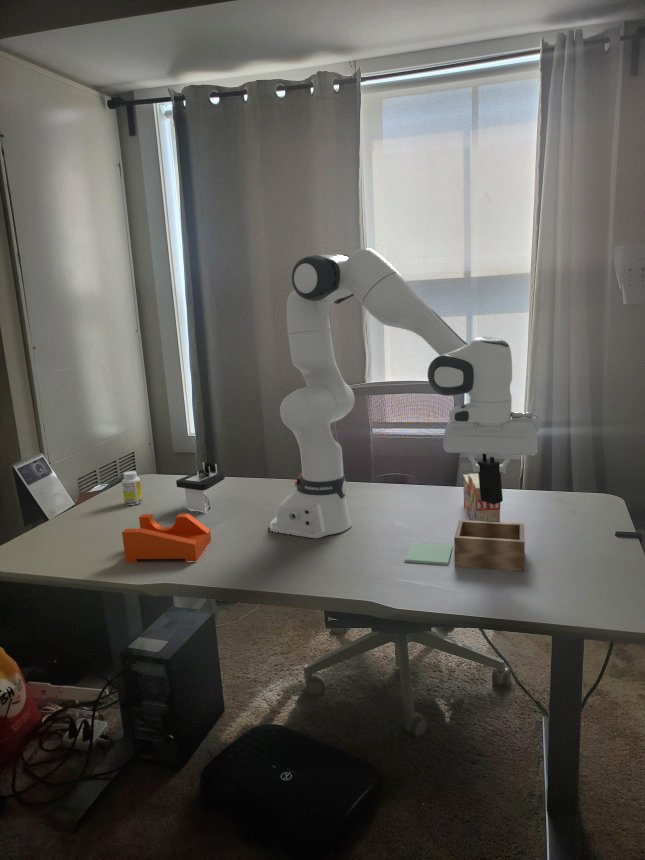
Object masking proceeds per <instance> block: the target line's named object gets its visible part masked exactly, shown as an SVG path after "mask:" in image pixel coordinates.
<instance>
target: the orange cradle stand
mask: <svg viewBox="0 0 645 860" xmlns="http://www.w3.org/2000/svg"><path fill="white" fill-rule="evenodd" d="M138 519H139V528H125V529H124V530H122V532H121V536H122V537H121V538H122V543H123V550H124V551H123V552H124V558H125V559H124V560H125V563H127V564H128V563H130V564H131V563H132V564H133V563H135V564H136V563H137V562H138V561H140V560H182V559H183V560H185V562H186V561H197V560H198V558H199V557H200V556H201V554H202V553H203V551H204V550H205V548H206V547H207V545H208V544H209V543H210V541H211V542H212V533H211V529H209V528H208V527H207V526H205V525H204V524H203V523H202V522H200V521H199V520H198V519H196V518H195V517H194V516H193V515H191V514H190V513H178V514H177V515H176V516H175V522H174V524H173V525H171V526H163V525H160V524H158V523H157V521H156V520H155V518H154V516H153V514H152V513H143V514H141V515H140V516H138ZM210 544H211V543H210ZM207 548H208V547H207ZM205 551H206V550H205ZM205 551H204V552H205ZM203 554H204V553H203ZM203 554H202V555H203ZM201 557H202V556H201ZM201 557H200V558H201ZM200 558H199V559H200ZM198 561H199V560H198ZM198 561H197V562H198Z"/></svg>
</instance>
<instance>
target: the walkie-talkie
mask: <svg viewBox="0 0 645 860" xmlns="http://www.w3.org/2000/svg"><path fill="white" fill-rule="evenodd" d="M481 455H482V459H481V460H478V461H477V463H478V464H479V465H480V473H478V472H477V474H479V485H480V497H481V501H484V502H487V503H490V504H497V503H499V502H500V503H502V502H503V500H504V498H503V488H502V487H503V485H502V476H501V475H502V474H500V469H499V466H500V464H501V462H500V461H498V460H495V457H493V456H490V457H489V458H487V454H481Z"/></svg>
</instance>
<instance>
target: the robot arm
mask: <svg viewBox="0 0 645 860" xmlns="http://www.w3.org/2000/svg"><path fill="white" fill-rule="evenodd" d="M291 284H292V287H293V290H292V291H291V293H289V295H288V297H287V301H286V327H287V336H288V337H287V338H288V343H289V350H290V352H289V353H290V358H291V363H292V365H293V367H295V368H296V369H297V370H298V371H299V372H300V373H301V374H302V377H303V379H304V383H305V387H301V388H297V389H295V390H294V391H292V392H291V393H289V394H288V395H287V396H285V397H284V398H283V400H282V401H281V404H280V406H279V415H280V418H281V421H282V423H283V424H284V426H286V428H288V429H289V430H291V432H292V433H293V434H294V437H295V439H296V441H297V444H298V447H299V453H300V462H301V464H300V465H301V473H300V474H299V475H298V477H297V478H296V479H295V481H294V487H296V489H295V490H294V491H293V492H292V493H290V494H288V496H286V497H285V498H284V499H283V500H282V501H281V502H280V504H279V506H278V508H277V512H276V513H277V514H276V515H277V516H275V517H274V518H272V520H271V521H270V523H269V528H270V529H269V530H270V532H272V531H273V532H272V533H278V532H279V534H284V533H285V534H286V535H290V534H291V535H292V536H297V537H304V538H311V539H320V538H323V537H325V536H329V535H335V534H339V533H340V534H341V533H343V532H346V531H347V530H348V529H350V528H351V527H352V524H353V523H352V520H351V518H350V514H349V510H348V505H347V500H346V494H347V493H346V492H347V481H346V474H344V463H343V461H344V459H343V448H342V446H341V444H340V443H339V442H338V441H336V440H335V438H334V436H333V432H332V429H331V424H332V423H335V422H338V421H340V420H342V419H343V418H344V417H346V416H347V415H348V414H349V413H350V412H351V411H352V410H353V409H354V406H355V400H356V398H355V397H356V396H355V394H354V390H352V387H351V386H350V385H349V384H347V383H346V382H345V380H344V379H343V376H342V375H341V372H340V369H339V367H338V364H337V361H336V356H335V351H334V345H333V344H334V343H333V337H332V336H333V335H332V329H331V322H330V307H331V306H332V305H333V303H334V304H337V305H338V304H340V303H342V302H344V301H345V300H348V299H349V298H351V297H353V296H355V298H357V300H358V301H359V302H360V303H361V305H362V306H363V307H364V308H365V309H366V311H367V312H368V313H369V314H370V315H371V316H372V317H373V318H374V319H376V320H377V321H378V322H380V323H381V324H382V325H385V326H388V327H391V328H392V327H393V328H398V329H403V330H405V331H406V330H407V331H409V332H412V333H414V334H416V335H418V336H419V337H420V338H422V339H423V340H424V341H425V342H426V343H427V344H428V345H429V346H430V347H431V348H432V349H433V350H434V351H435V352H436V353H437V355H438V356H437V357H435V358H434V359H433V360H432V361H431V362H430V364H429V365H428V368H427V380H428V383H429V385H430V387H431V389H432V390H433V391H434V392H435V393H437V394H438V395H441V396H444V397H445V396H446V397H453V396H457V395H462V394H467V395H469V403H465V404H462V405H458V406H454V407H453V408H452V409H450V410H449V414H448V418H449V420H448V422H447V424H446V427H445V428H444V429H445V430H444V434H443V441H442V442H443V444H442V445H443V446H442V449H443V450H444V452H446V453H450V454H451V453H452V454H453V453H454V454H467V455H468V456H467V457H468V458H467V459H468V460H469V462H470V463H471V464H472V466H473V467H472V470H473V471H472V472H473V473H477V474H478V473H480V465H479V464H478V462H477V461H476V459H475V457H476V454H478V455H479V454H481V455H482V454H486V455H503V459H504V461H503V462H502V463H500V466H499V469H500V474H501V475H502V474H503V475H505V474H506V467H507V465H508V464H509V462H510V461H511V460H512V458H511V457H512V456H535V455H536V454H537V453H538V452H539V451H538V434H537V433H538V432H539V431H540V428H541V419H540V417H539V416H537V415H536V414H534V413H533V412H516V411H515V412H514V411H513V412H512V402H513V401H512V394H511V384H512V382H513V359H512V357H513V356H512V350H511V347H510V345H509V343H507V342H506V340H503V339H501V338H498V337H497V338H496V337H492V336H478V337H475V338H474V339H473V340H471V341H470V342H469V343H467V342H466V341H465V340H463V338H461V336H460V335H458V334H457V333H456V331H455V330H454V329H452V328H451V327H450V326H449V325H448V324H447V322H446V321H444V319H442V318H441V317H440V315H438V314H437V313H436V311H434V310H433V309H432V308H431V307H430V306H429V305H428V304H427V302H425V301H424V300H423V298H421V296H420V295H418V293H417V292H416V291H415V290H414V288H412V286H411V285H410V284H409V283H408V282H407V280H406V279H405V277H403V275H401V273H399V272H398V270H397V269H396V267H394V266H393V265H392V264H391V263H390V262H389V261H388V260H387V259H386V258H384V257H383V256H382V255H381V254H379V253H378V252H377V251H375V250H374V249H372V248H369V247H368V248H367V247H365V248H364V247H363V248H359V249H357V250H356V251H354V252H352V253H351V255H346V254H343V255H342V254H337V253H327V254H320V255H318V254H313V255H308V256H305V257H303V258H301V259H299V260H298V261H297V262H296V263H295V265H294V266H293V269H292V272H291Z"/></svg>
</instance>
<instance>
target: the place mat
mask: <svg viewBox="0 0 645 860" xmlns="http://www.w3.org/2000/svg"><path fill="white" fill-rule="evenodd" d="M452 551H453V545H452V544H438V543H437V544H436V543H422V542H411V543H410V546H409V548H408V550H407V552H406V555H405V557H404V562H405V563H417V564H429V565H430V564H431V565H443V566H449V563H450V559H451V554H452Z"/></svg>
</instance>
